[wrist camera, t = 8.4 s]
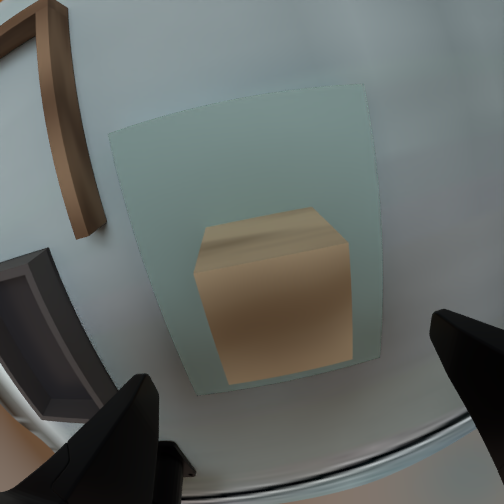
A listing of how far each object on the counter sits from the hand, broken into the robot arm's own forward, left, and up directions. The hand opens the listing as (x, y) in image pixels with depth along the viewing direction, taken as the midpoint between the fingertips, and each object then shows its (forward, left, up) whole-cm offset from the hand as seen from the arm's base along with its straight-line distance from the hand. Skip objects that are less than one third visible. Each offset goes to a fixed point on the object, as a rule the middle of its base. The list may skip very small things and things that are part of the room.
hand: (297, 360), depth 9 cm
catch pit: (-4, +17, -9) cm, 20 cm away
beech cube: (0, 0, -7) cm, 7 cm away
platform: (0, 0, -9) cm, 9 cm away
